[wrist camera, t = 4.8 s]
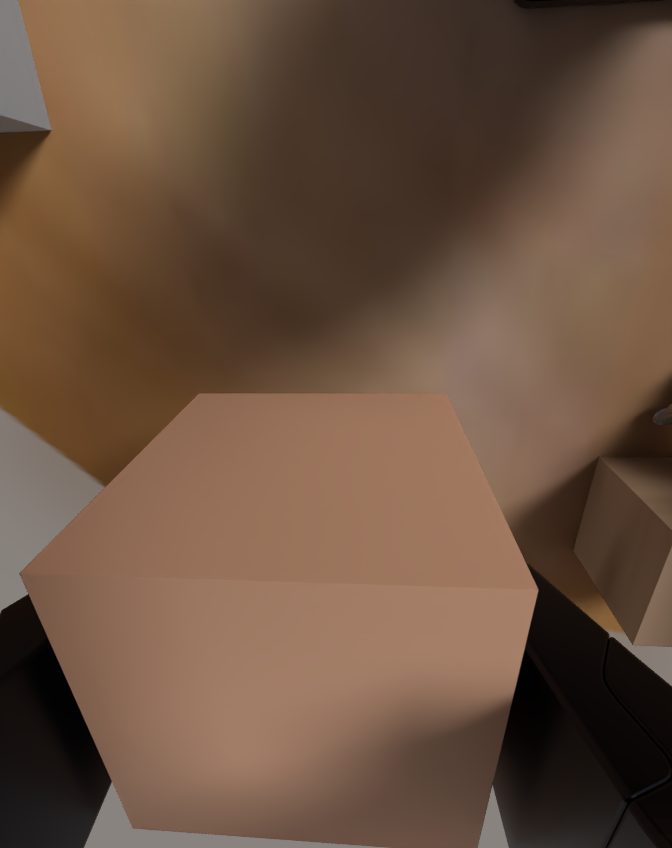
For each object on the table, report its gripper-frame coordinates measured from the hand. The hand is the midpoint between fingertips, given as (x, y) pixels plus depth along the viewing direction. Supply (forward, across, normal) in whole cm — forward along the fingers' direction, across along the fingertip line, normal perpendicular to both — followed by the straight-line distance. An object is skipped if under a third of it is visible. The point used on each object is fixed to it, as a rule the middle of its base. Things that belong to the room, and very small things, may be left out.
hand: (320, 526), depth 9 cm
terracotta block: (+1, 0, 0) cm, 1 cm away
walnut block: (+9, -13, +6) cm, 17 cm away
